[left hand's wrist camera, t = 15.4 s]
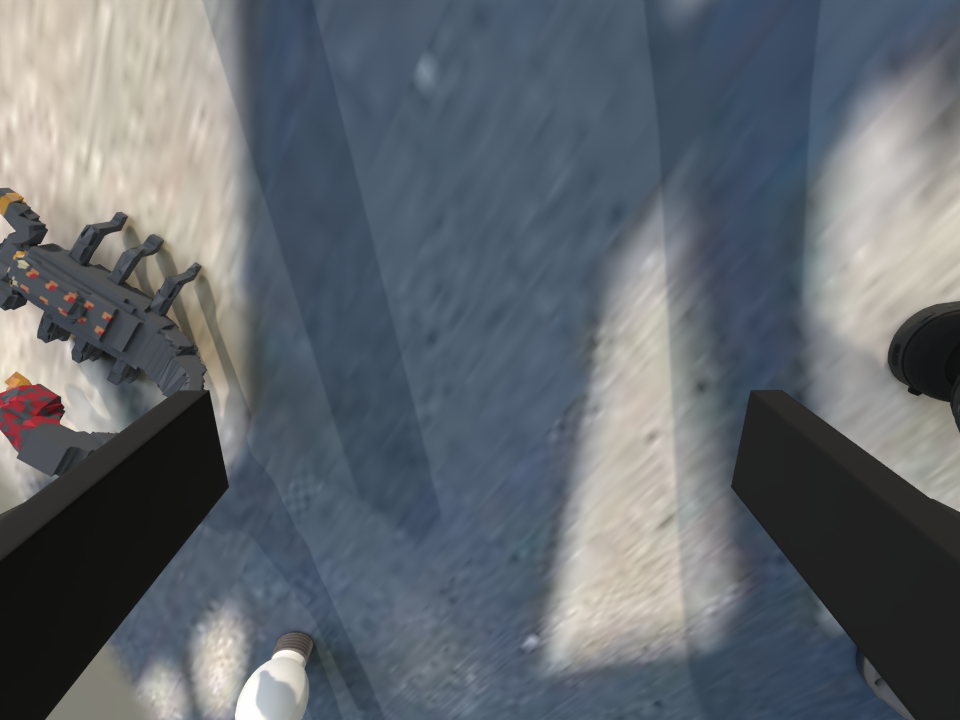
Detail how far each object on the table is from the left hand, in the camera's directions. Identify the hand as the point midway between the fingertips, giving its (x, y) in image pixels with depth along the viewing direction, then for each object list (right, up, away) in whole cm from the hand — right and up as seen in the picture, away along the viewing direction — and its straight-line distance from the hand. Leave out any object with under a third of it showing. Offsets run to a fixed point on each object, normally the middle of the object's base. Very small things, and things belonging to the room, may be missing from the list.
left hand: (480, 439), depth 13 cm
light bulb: (-21, -31, +46) cm, 59 cm away
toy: (-31, +8, +32) cm, 45 cm away
